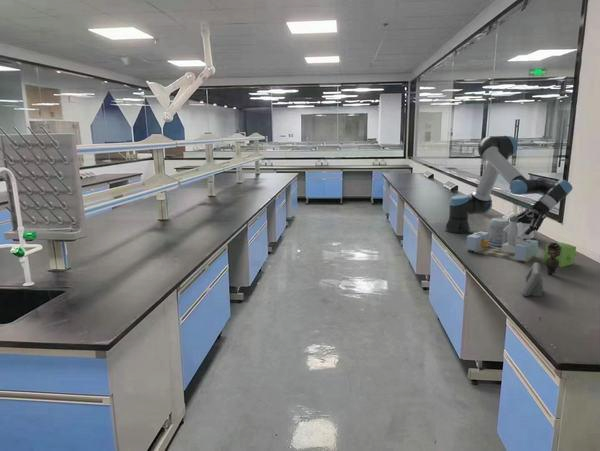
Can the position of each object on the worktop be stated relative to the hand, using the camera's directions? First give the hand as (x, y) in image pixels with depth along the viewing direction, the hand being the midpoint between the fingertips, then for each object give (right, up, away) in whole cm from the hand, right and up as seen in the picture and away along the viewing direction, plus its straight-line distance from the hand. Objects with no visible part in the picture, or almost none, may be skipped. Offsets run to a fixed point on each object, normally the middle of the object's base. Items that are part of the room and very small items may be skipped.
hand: (512, 234), depth 209 cm
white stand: (+1, -9, +3) cm, 9 cm away
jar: (+29, -3, +40) cm, 50 cm away
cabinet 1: (-11, -7, +16) cm, 21 cm away
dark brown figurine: (+5, -18, -24) cm, 30 cm away
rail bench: (-3, -10, +7) cm, 13 cm away
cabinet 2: (+6, -11, -2) cm, 12 cm away
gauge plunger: (-9, -6, +14) cm, 18 cm away
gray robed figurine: (-15, -22, -43) cm, 51 cm away
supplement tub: (+5, -6, +26) cm, 27 cm away
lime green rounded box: (+18, -14, -10) cm, 25 cm away
